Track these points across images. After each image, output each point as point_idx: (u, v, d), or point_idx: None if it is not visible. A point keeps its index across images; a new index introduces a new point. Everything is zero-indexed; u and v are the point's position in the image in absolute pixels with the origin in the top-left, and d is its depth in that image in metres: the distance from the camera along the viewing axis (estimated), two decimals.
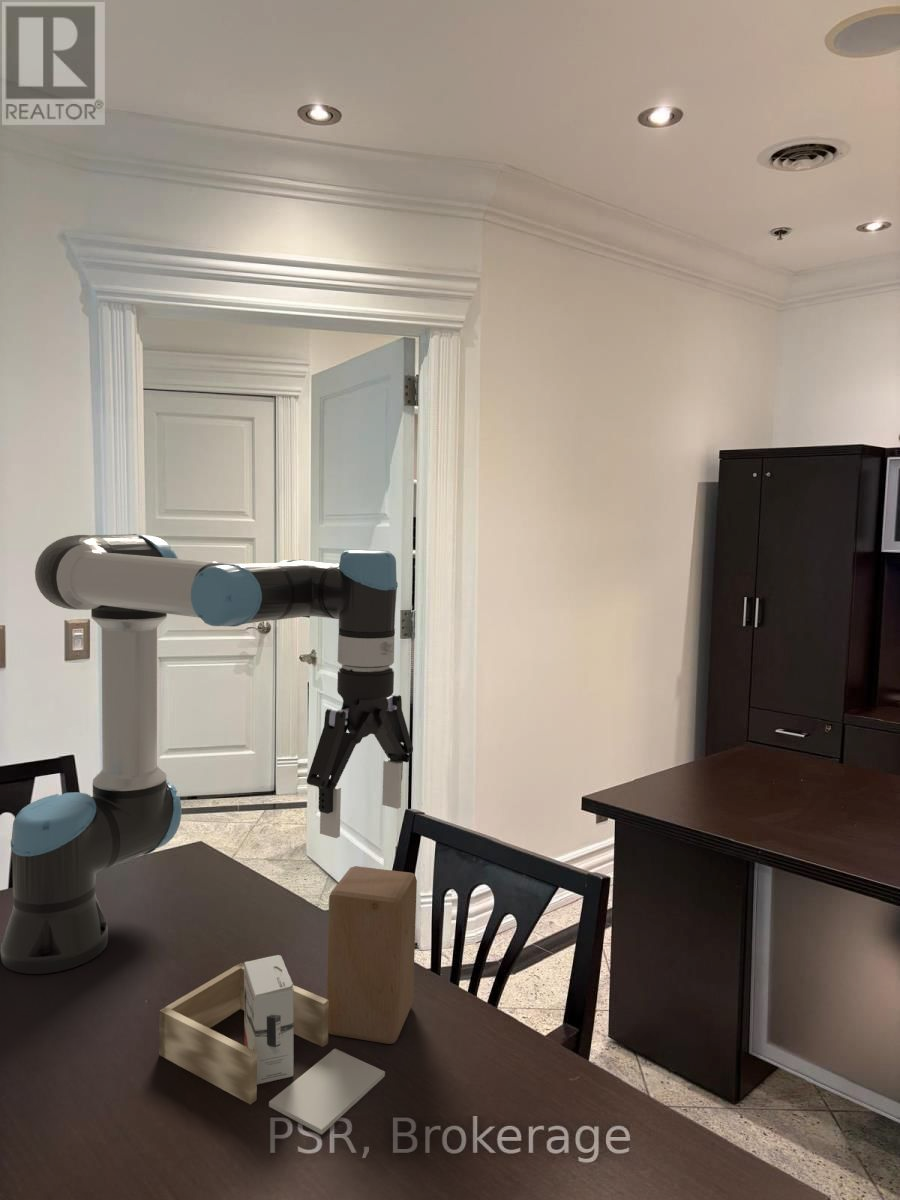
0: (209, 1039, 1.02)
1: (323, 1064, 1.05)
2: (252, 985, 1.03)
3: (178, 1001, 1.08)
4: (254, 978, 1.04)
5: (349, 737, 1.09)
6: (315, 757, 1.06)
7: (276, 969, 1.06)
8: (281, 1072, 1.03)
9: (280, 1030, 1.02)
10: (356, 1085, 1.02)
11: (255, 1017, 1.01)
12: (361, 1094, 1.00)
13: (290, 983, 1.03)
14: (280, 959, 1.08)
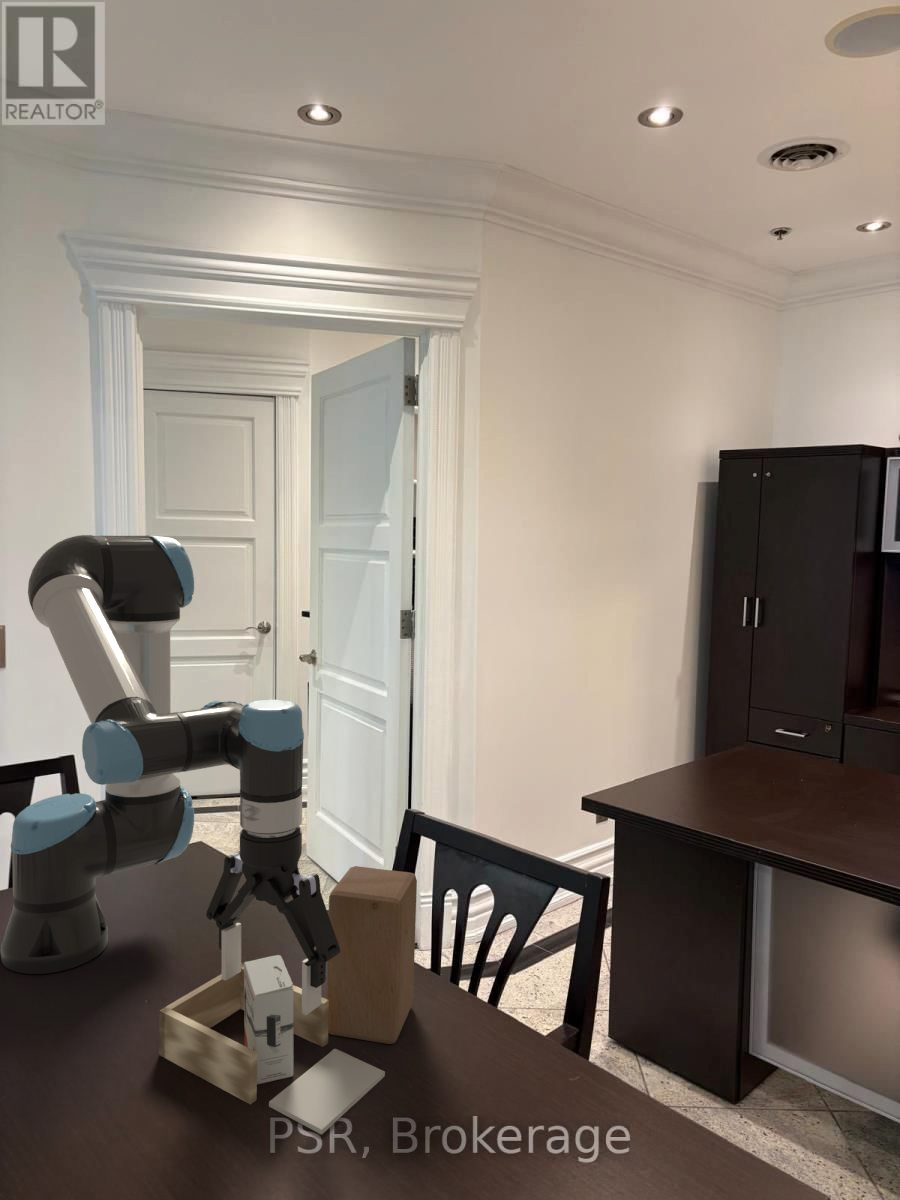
0: (209, 1039, 1.02)
1: (323, 1064, 1.05)
2: (252, 985, 1.03)
3: (178, 1001, 1.08)
4: (254, 978, 1.04)
5: None
6: None
7: (276, 969, 1.06)
8: (281, 1072, 1.03)
9: (280, 1030, 1.02)
10: (356, 1085, 1.02)
11: (255, 1017, 1.01)
12: (361, 1094, 1.00)
13: (290, 983, 1.03)
14: (280, 959, 1.09)
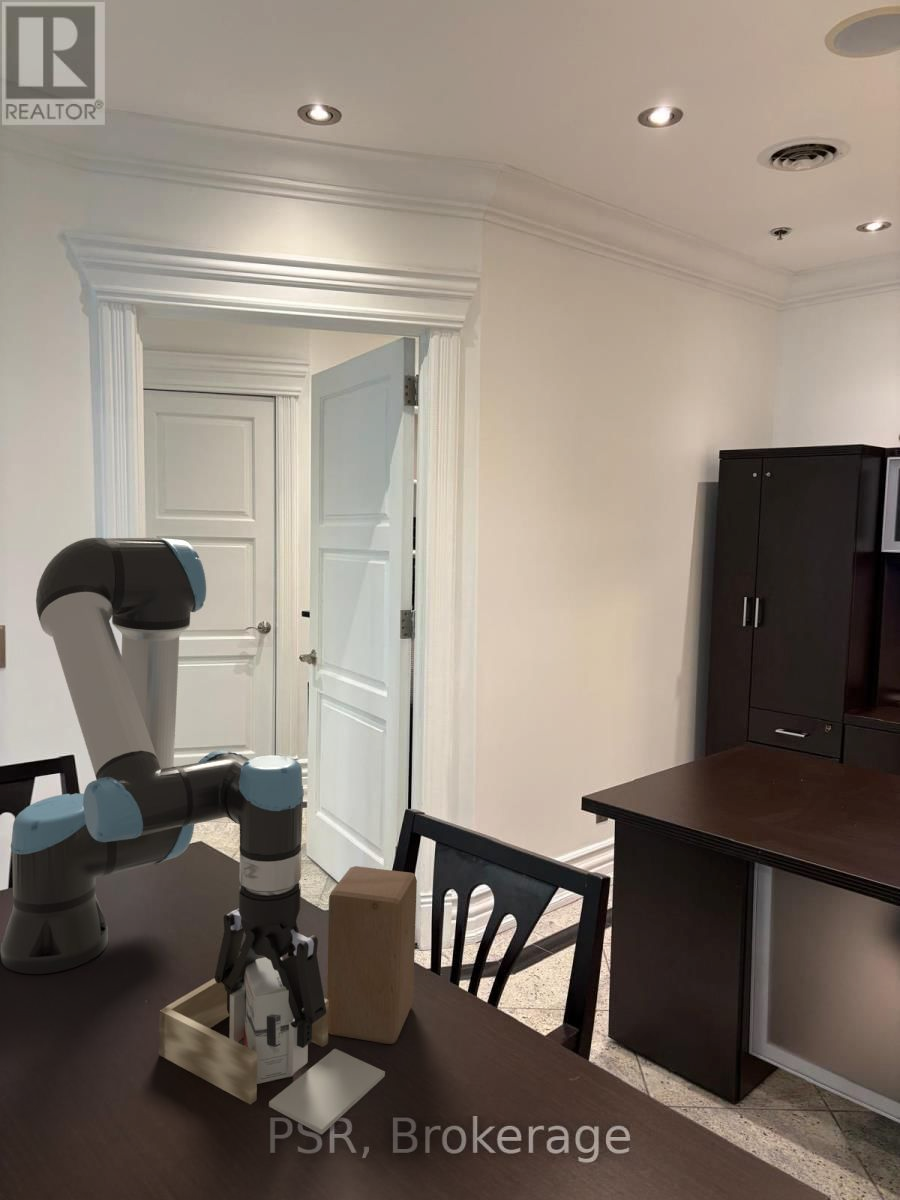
0: (209, 1039, 1.02)
1: (323, 1064, 1.05)
2: (252, 985, 1.03)
3: (178, 1001, 1.08)
4: (254, 978, 1.04)
5: None
6: None
7: None
8: (281, 1072, 1.03)
9: (280, 1030, 1.02)
10: (356, 1085, 1.02)
11: (255, 1017, 1.01)
12: (361, 1094, 1.00)
13: None
14: None
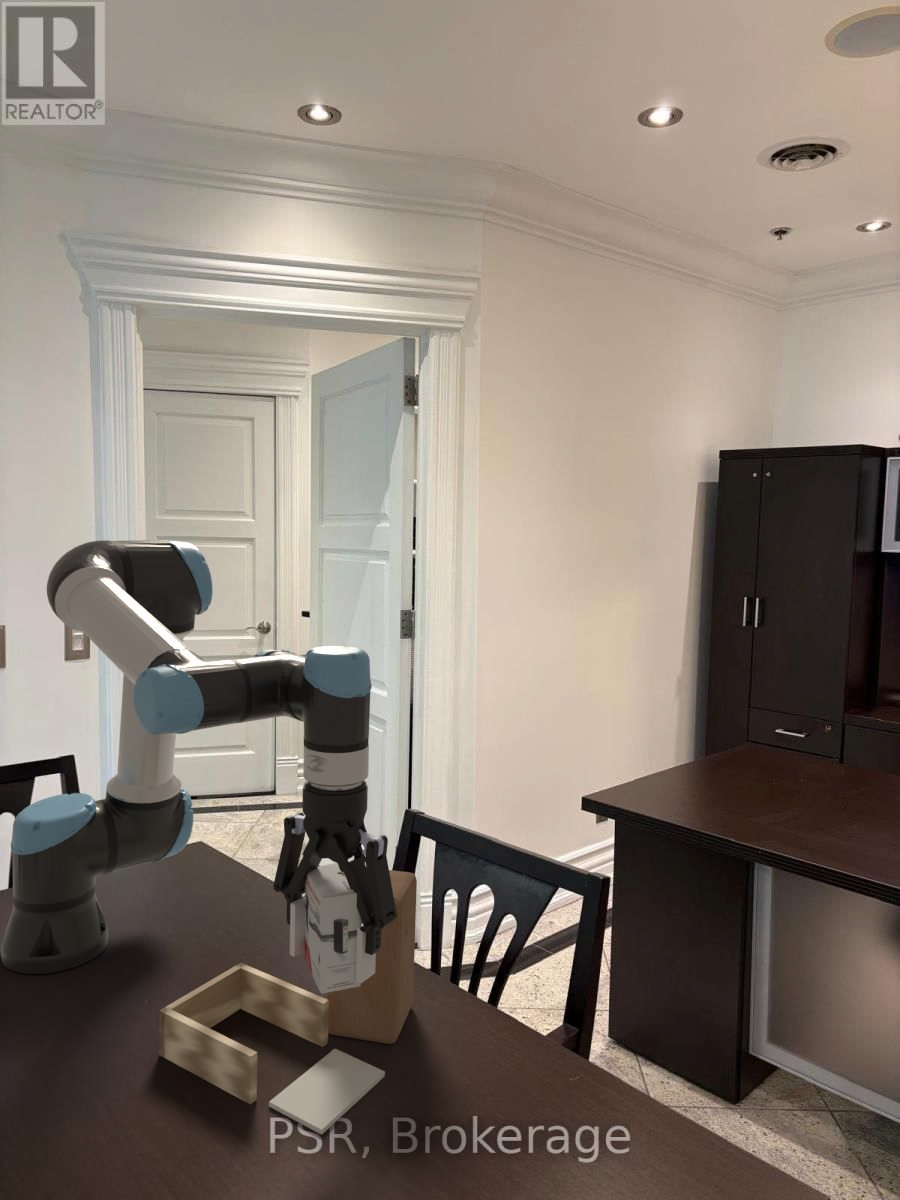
0: (209, 1039, 1.02)
1: (323, 1064, 1.05)
2: (317, 888, 0.96)
3: (178, 1001, 1.08)
4: (318, 882, 0.97)
5: None
6: None
7: (340, 875, 1.00)
8: (348, 981, 0.96)
9: (347, 936, 0.95)
10: (356, 1085, 1.02)
11: (321, 920, 0.94)
12: (361, 1094, 1.00)
13: None
14: None
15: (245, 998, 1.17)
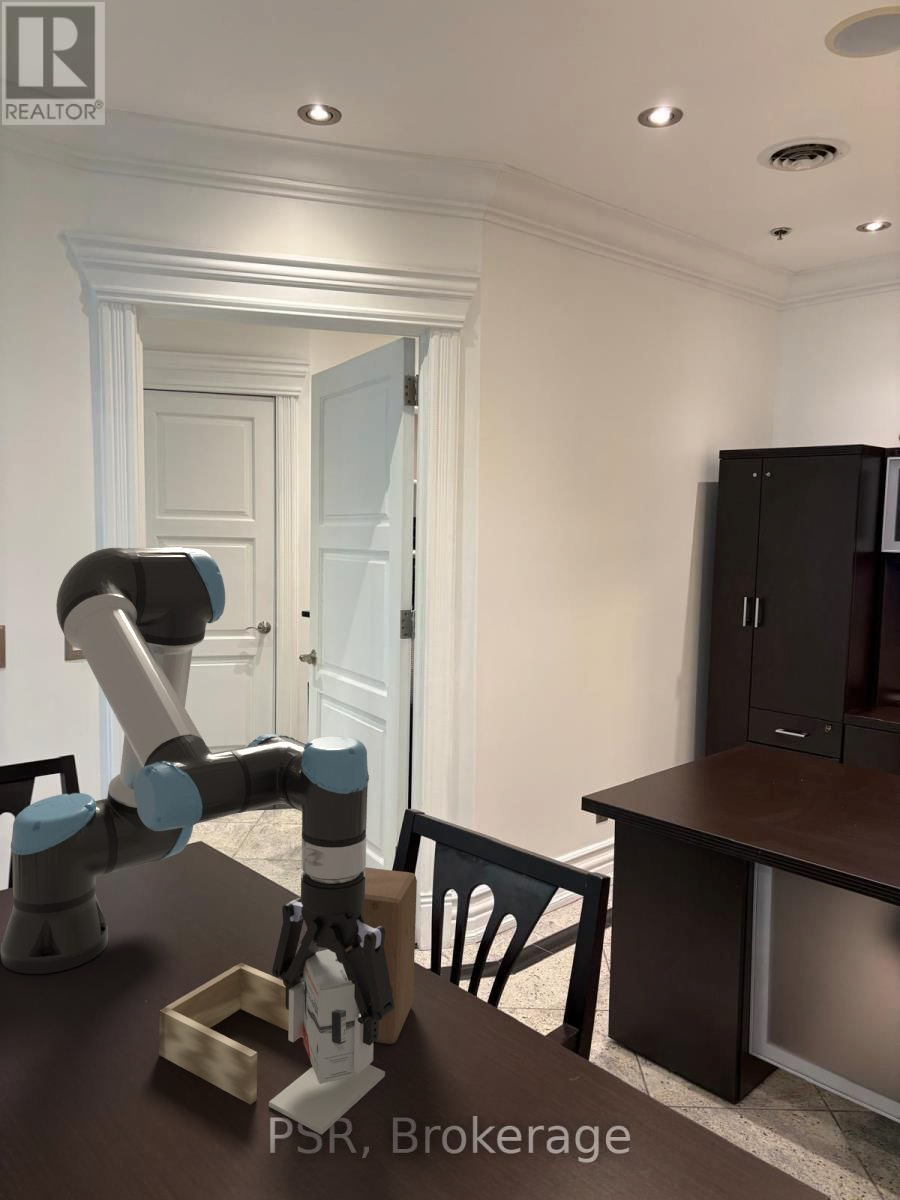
0: (209, 1039, 1.02)
1: None
2: (315, 978, 0.97)
3: (178, 1001, 1.08)
4: (316, 971, 0.99)
5: None
6: None
7: (338, 962, 1.01)
8: (346, 1071, 0.97)
9: (345, 1026, 0.97)
10: (356, 1085, 1.02)
11: (320, 1012, 0.95)
12: (361, 1094, 1.00)
13: None
14: None
15: (245, 998, 1.17)
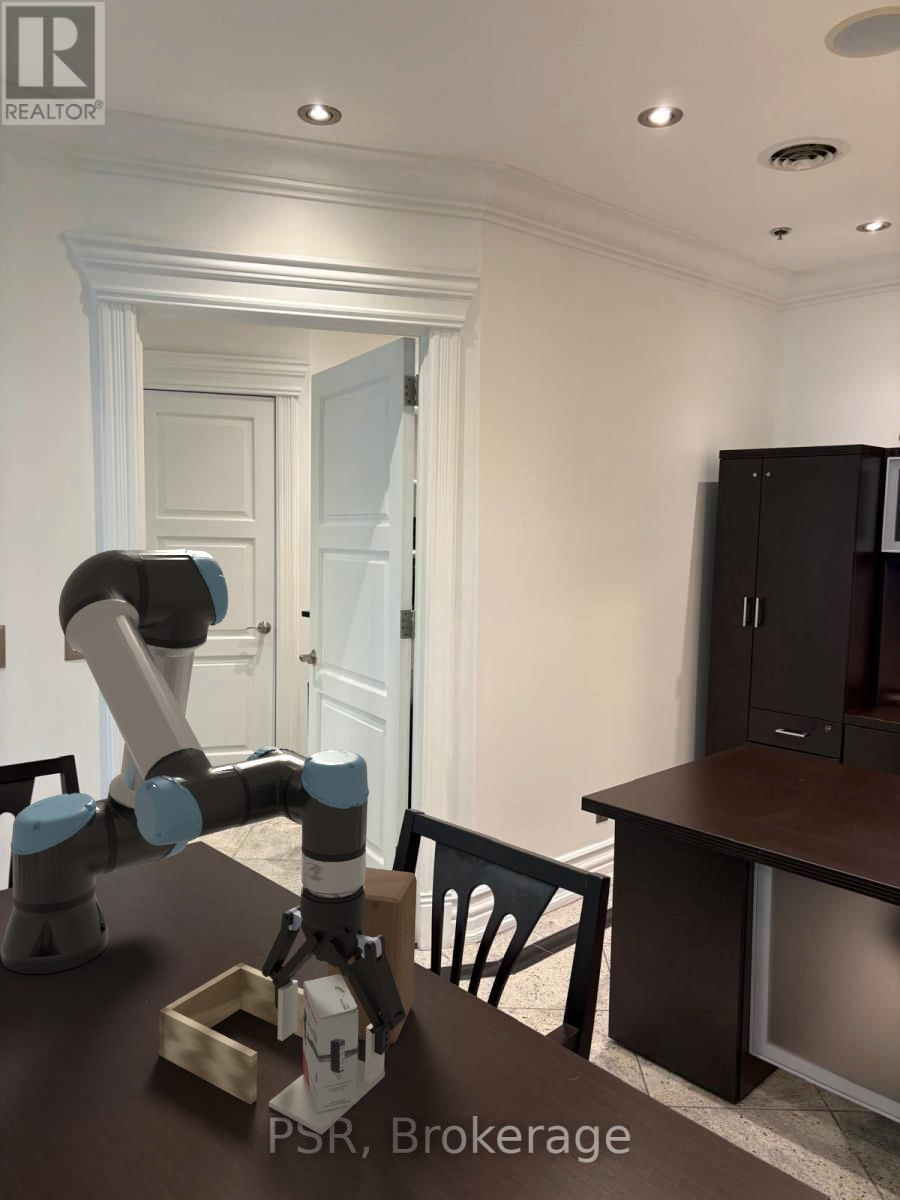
0: (209, 1039, 1.02)
1: None
2: (314, 1007, 0.98)
3: (178, 1001, 1.08)
4: (316, 1000, 0.99)
5: None
6: None
7: (337, 990, 1.01)
8: (345, 1099, 0.98)
9: (344, 1055, 0.97)
10: None
11: (319, 1041, 0.96)
12: (361, 1094, 1.00)
13: (354, 1005, 0.98)
14: (341, 979, 1.03)
15: (245, 998, 1.17)
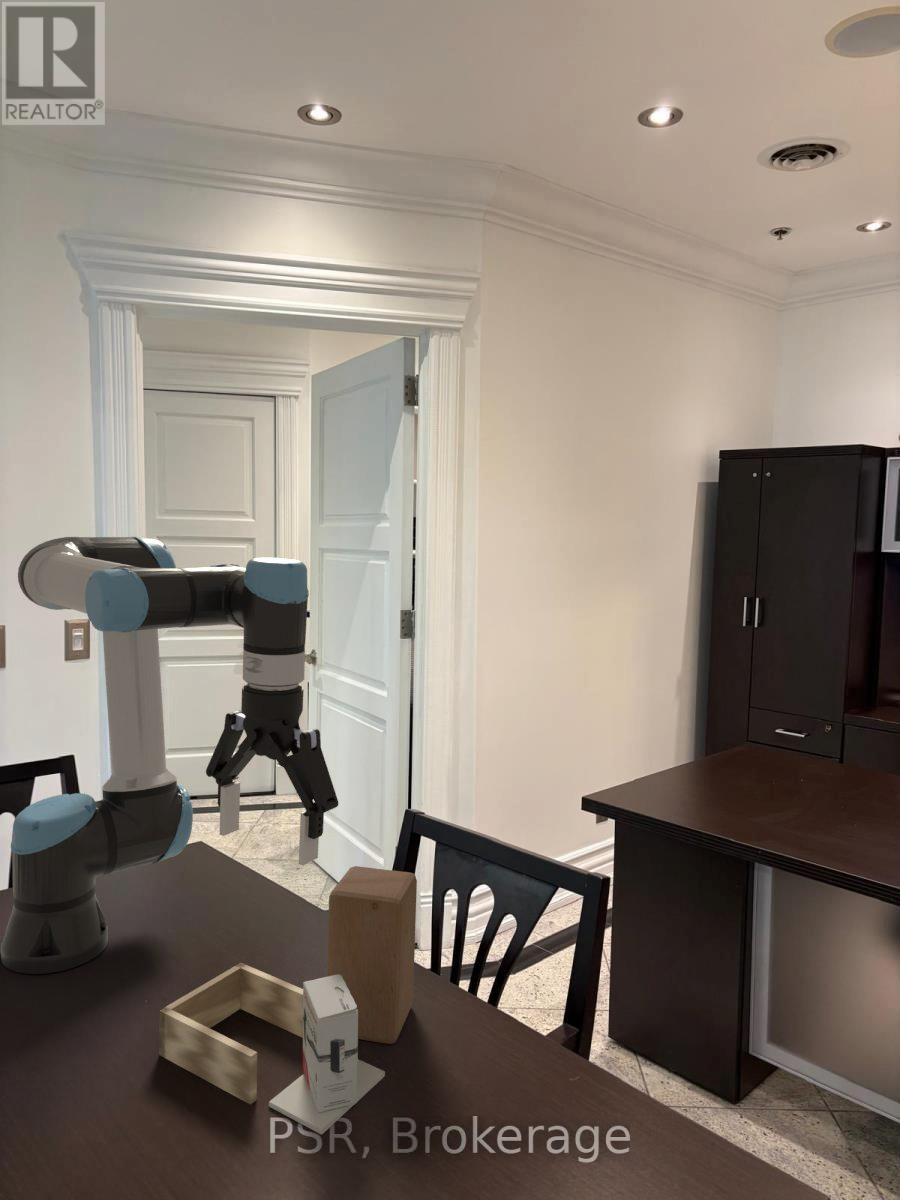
0: (209, 1039, 1.02)
1: None
2: (314, 1007, 0.98)
3: (178, 1001, 1.08)
4: (315, 1000, 0.99)
5: None
6: None
7: (337, 990, 1.01)
8: (345, 1099, 0.98)
9: (344, 1055, 0.97)
10: None
11: (318, 1041, 0.96)
12: (361, 1094, 1.00)
13: (354, 1005, 0.98)
14: (341, 979, 1.03)
15: (245, 998, 1.17)
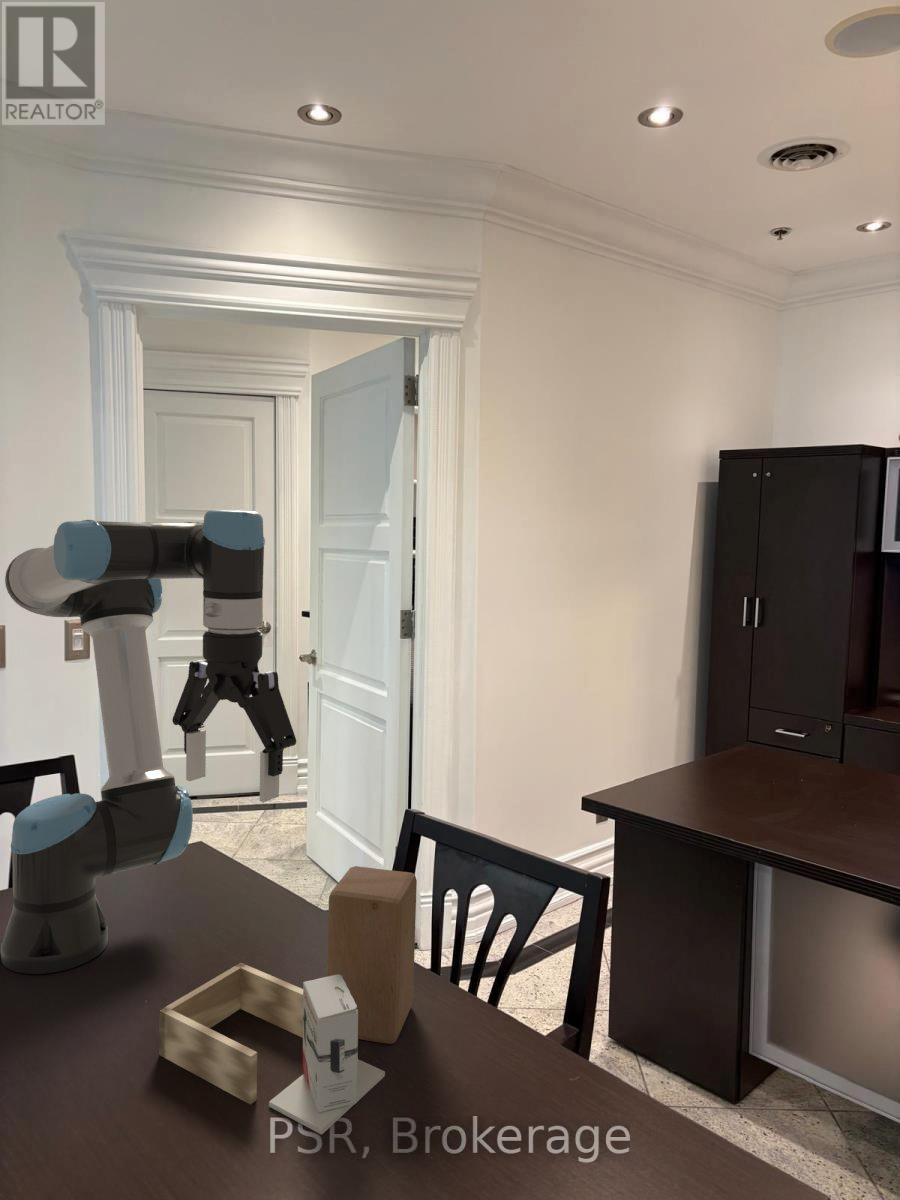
0: (209, 1039, 1.02)
1: None
2: (314, 1007, 0.98)
3: (178, 1001, 1.08)
4: (315, 1000, 0.99)
5: None
6: None
7: (337, 990, 1.01)
8: (345, 1099, 0.98)
9: (344, 1055, 0.97)
10: None
11: (318, 1041, 0.96)
12: (361, 1094, 1.00)
13: (354, 1005, 0.98)
14: (341, 979, 1.03)
15: (245, 998, 1.17)
